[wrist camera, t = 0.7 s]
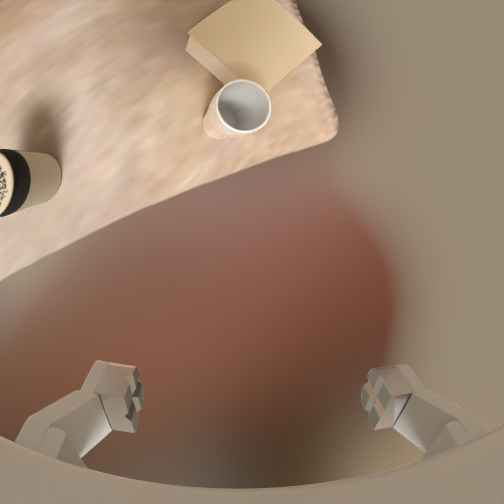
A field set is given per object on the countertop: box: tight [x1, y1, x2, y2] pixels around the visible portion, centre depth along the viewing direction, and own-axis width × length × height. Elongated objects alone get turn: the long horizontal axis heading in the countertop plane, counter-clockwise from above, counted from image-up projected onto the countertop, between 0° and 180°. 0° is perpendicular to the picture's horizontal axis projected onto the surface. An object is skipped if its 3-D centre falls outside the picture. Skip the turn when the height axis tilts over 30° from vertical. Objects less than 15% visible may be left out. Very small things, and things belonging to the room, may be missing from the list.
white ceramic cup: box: [202, 79, 271, 139], centre depth 38 cm, size 7×7×15 cm
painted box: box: [185, 0, 322, 92], centre depth 39 cm, size 15×15×8 cm
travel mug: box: [0, 149, 61, 217], centre depth 30 cm, size 8×8×18 cm
